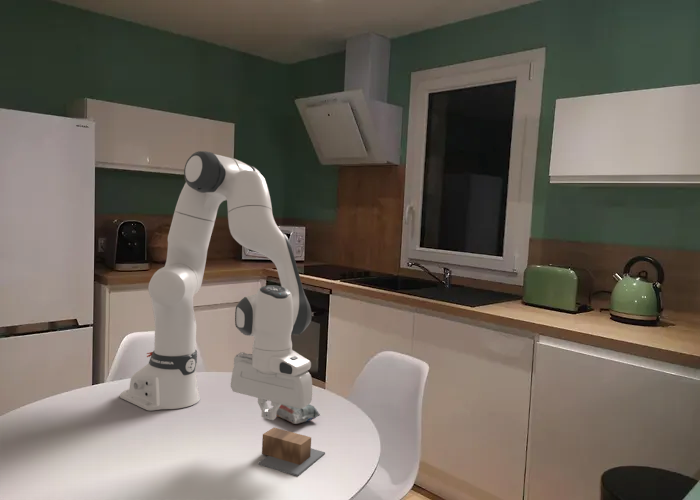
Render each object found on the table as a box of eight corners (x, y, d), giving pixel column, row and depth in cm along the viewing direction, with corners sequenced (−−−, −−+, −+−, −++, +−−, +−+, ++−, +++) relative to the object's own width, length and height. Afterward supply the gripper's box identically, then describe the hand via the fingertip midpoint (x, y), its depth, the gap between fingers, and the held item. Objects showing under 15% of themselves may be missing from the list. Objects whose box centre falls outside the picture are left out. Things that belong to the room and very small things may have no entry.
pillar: (261, 433, 117) (301, 444, 113) (272, 427, 122) (311, 437, 117) (260, 453, 118) (300, 464, 113) (272, 445, 122) (310, 456, 117)
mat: (258, 464, 114) (258, 462, 114) (288, 443, 124) (288, 442, 124) (297, 476, 109) (297, 474, 109) (325, 453, 120) (325, 452, 120)
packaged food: (295, 431, 132) (296, 412, 132) (266, 416, 140) (267, 398, 140) (320, 423, 138) (321, 404, 138) (291, 409, 146) (292, 392, 146)
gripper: (226, 353, 120) (223, 412, 121) (302, 370, 111) (299, 433, 112) (243, 348, 125) (240, 404, 126) (317, 363, 116) (313, 423, 117)
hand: (268, 418), depth 119 cm, fingers closed
